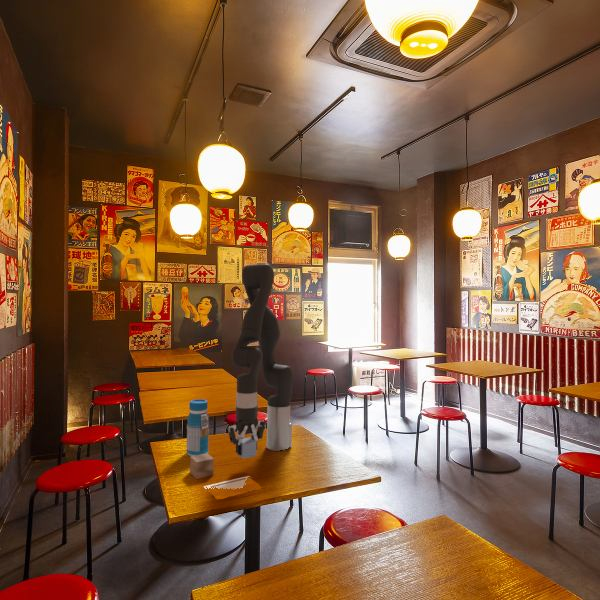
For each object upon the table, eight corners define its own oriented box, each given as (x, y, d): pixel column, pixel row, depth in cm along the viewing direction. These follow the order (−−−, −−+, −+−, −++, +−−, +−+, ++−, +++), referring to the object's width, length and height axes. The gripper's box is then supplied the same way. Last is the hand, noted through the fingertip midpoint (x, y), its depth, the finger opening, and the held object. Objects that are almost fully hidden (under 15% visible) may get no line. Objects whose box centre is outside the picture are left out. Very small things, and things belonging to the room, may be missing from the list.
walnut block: (206, 470, 148) (207, 453, 148) (213, 476, 143) (213, 458, 143) (189, 474, 144) (190, 456, 144) (196, 480, 139) (196, 462, 139)
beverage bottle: (185, 457, 158) (187, 404, 158) (186, 449, 167) (187, 398, 167) (208, 456, 160) (210, 403, 160) (208, 448, 169) (209, 398, 168)
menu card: (248, 476, 143) (248, 475, 143) (264, 489, 134) (264, 487, 134) (203, 487, 134) (203, 486, 134) (216, 502, 125) (217, 500, 125)
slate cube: (249, 451, 152) (249, 437, 152) (256, 455, 147) (256, 441, 147) (236, 454, 149) (236, 439, 149) (243, 458, 145) (243, 444, 145)
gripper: (259, 399, 155) (259, 445, 155) (223, 404, 147) (222, 453, 147) (270, 403, 149) (269, 452, 149) (232, 410, 141) (232, 461, 141)
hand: (246, 452), depth 148 cm, fingers closed on slate cube, 5 cm apart
